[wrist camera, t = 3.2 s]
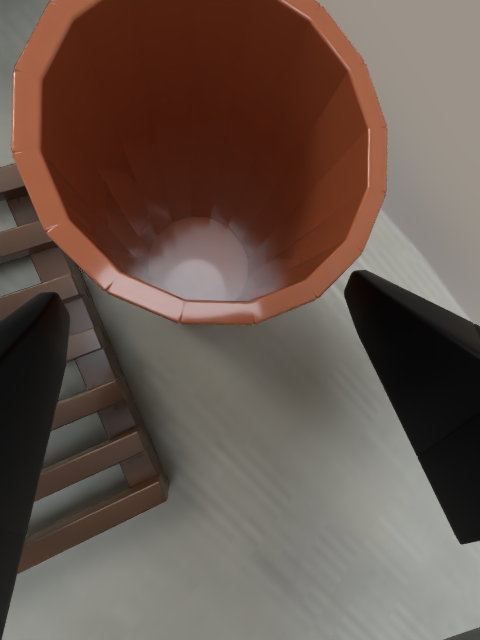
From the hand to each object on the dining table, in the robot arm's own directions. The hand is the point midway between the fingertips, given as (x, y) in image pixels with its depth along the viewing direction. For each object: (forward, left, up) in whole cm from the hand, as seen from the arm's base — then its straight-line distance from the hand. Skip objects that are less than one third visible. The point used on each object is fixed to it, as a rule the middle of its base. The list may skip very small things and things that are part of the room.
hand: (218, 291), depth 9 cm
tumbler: (+2, -1, -9) cm, 10 cm away
